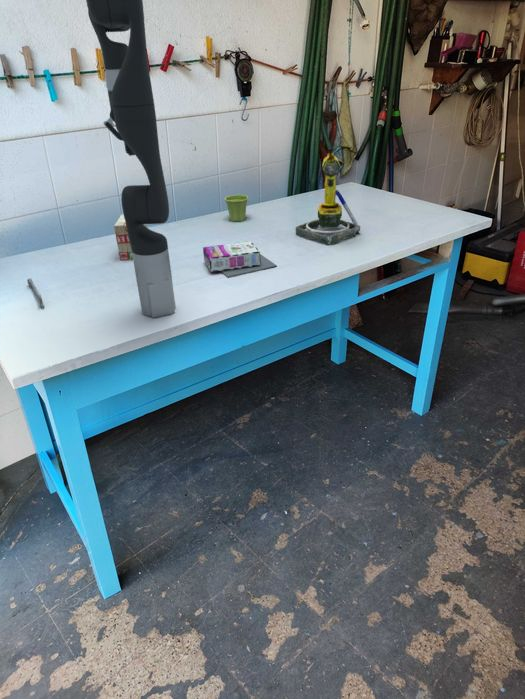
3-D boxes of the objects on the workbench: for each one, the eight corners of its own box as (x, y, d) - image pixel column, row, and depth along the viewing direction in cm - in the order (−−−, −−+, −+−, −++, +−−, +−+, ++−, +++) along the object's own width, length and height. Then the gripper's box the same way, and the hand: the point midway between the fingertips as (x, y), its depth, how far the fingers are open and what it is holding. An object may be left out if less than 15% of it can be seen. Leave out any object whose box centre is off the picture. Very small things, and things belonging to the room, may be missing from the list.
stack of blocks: (131, 239, 194) (126, 206, 187) (148, 238, 194) (143, 205, 187) (120, 260, 175) (113, 225, 169) (138, 260, 176) (132, 224, 169)
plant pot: (221, 219, 211) (219, 198, 206) (239, 214, 216) (237, 193, 211) (236, 224, 205) (234, 202, 200) (254, 219, 210) (253, 197, 205)
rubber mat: (276, 266, 166) (276, 265, 166) (227, 277, 160) (227, 276, 160) (249, 248, 182) (249, 246, 182) (204, 257, 175) (203, 255, 175)
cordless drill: (290, 235, 192) (290, 156, 177) (325, 223, 202) (327, 148, 188) (329, 247, 180) (332, 164, 165) (363, 234, 191) (369, 154, 176)
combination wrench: (25, 276, 158) (37, 298, 143) (30, 275, 159) (42, 297, 144) (29, 287, 160) (40, 310, 145) (33, 286, 161) (45, 309, 145)
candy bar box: (210, 273, 162) (261, 266, 166) (208, 258, 160) (260, 251, 163) (204, 261, 172) (252, 254, 175) (202, 246, 169) (251, 240, 172)
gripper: (99, 90, 136) (111, 160, 145) (149, 87, 141) (157, 154, 150) (93, 88, 142) (105, 155, 151) (141, 85, 147) (150, 150, 156)
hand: (131, 154), depth 150 cm, fingers closed
